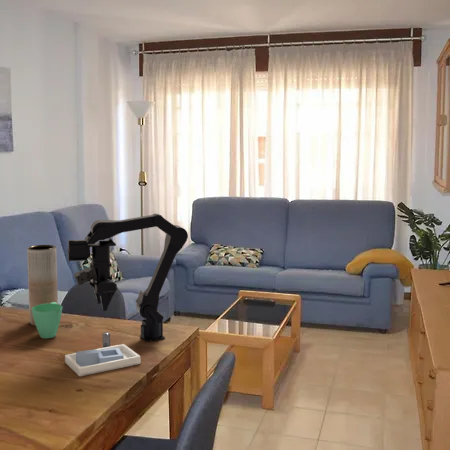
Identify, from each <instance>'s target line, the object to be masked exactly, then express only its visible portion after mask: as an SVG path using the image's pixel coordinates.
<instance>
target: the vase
mask: <svg viewBox="0 0 450 450" xmlns="http://www.w3.org/2000/svg"><path fill="white" fill-rule="evenodd" d="M26 252H27V253H26V254H27V255H26V256H27V276H28V277H27V278H28V279H27V280H28V283H27V284H28V304H29V307H28V309H29V310H28V311H29V323H30V325H31V326H35V327H36V325H35V322H34V318H33V314H32V307H34V306H36V305H40V304H50V303H52V302H56V303H57V304H59V301H58V300H59V299H58V295H59V294H58V293H59V292H58V265H57V260H58V259H57V246H56V245H52V244H38V245H37V244H36V245H30V246H28V247H27V249H26Z"/></svg>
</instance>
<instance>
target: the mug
mask: <svg viewBox="0 0 450 450" xmlns="http://www.w3.org/2000/svg"><path fill="white" fill-rule="evenodd" d="M62 313H63V305H61V304H59V303H58V304H57V303H56V302H52V303H50V304H40V305H36V306H34V307H32V314H33V318H34V322H35V325H36V326H35V328H36V330H37V332H38V334H39V337H40V338H41V339H51V338H55V337H56V335H57V333H58V330H59V325H60V324H61V319H62Z"/></svg>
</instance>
